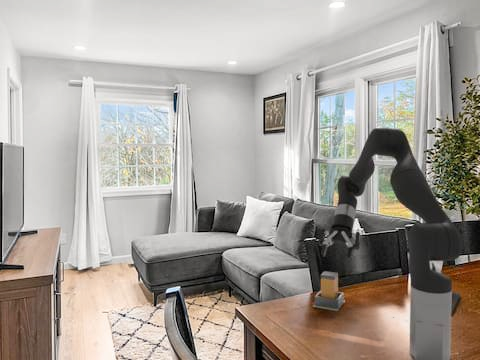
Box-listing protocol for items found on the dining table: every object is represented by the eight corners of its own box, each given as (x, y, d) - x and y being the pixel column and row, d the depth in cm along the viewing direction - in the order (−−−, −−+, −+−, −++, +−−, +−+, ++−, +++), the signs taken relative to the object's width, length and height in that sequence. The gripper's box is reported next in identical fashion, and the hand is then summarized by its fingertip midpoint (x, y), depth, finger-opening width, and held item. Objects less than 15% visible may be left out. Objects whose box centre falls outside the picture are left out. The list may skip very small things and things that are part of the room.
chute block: (334, 306, 129) (334, 276, 128) (320, 304, 131) (320, 274, 130) (337, 302, 133) (338, 272, 132) (324, 300, 135) (324, 271, 134)
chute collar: (338, 309, 127) (338, 300, 126) (314, 305, 130) (314, 296, 130) (343, 301, 133) (343, 292, 133) (321, 297, 137) (321, 289, 137)
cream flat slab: (337, 314, 126) (337, 310, 126) (313, 310, 129) (313, 306, 129) (345, 304, 134) (345, 300, 134) (321, 300, 138) (321, 296, 138)
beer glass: (421, 287, 150) (422, 248, 149) (422, 282, 156) (423, 244, 155) (442, 290, 147) (442, 250, 146) (442, 285, 153) (443, 246, 152)
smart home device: (423, 306, 129) (435, 289, 145) (423, 311, 129) (435, 293, 145) (452, 311, 124) (461, 293, 140) (451, 317, 124) (460, 298, 140)
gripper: (323, 211, 149) (313, 248, 139) (362, 214, 142) (354, 253, 132) (326, 223, 154) (317, 260, 144) (364, 226, 147) (358, 265, 137)
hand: (335, 256), depth 138 cm, fingers open, 8 cm apart
